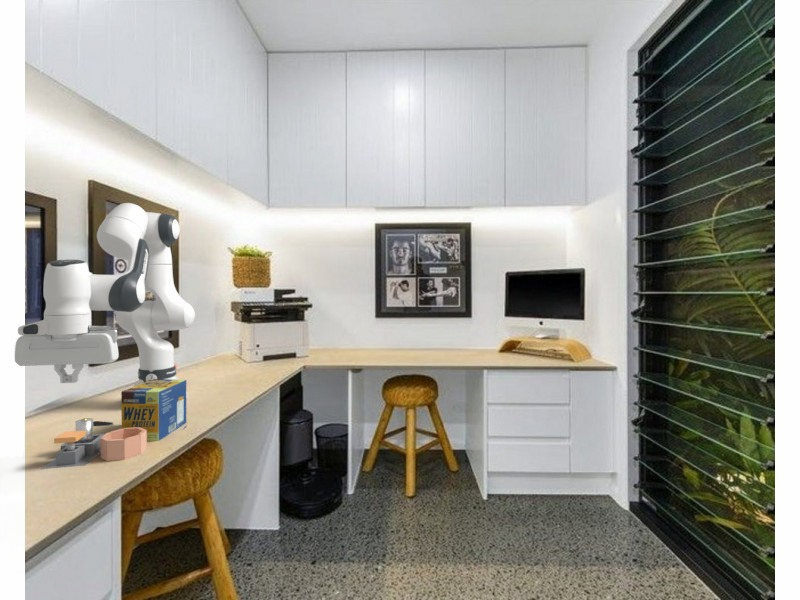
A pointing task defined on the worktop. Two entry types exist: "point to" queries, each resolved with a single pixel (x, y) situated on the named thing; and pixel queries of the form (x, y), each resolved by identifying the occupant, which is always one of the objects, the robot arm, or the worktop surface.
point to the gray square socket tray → (77, 454)
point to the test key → (70, 439)
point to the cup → (123, 443)
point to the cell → (85, 425)
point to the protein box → (155, 407)
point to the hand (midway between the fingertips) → (69, 382)
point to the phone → (101, 423)
